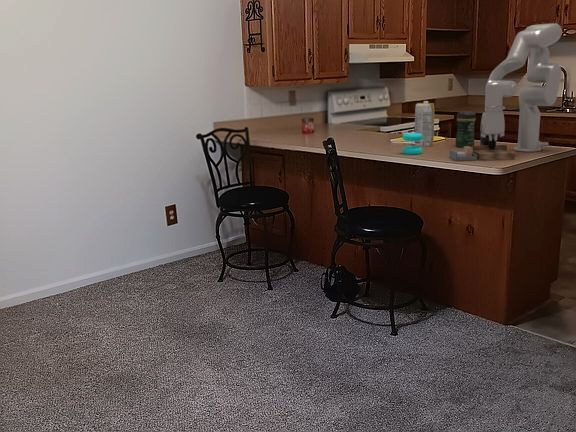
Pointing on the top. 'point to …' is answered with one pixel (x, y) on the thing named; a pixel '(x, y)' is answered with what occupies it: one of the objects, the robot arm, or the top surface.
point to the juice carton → (424, 123)
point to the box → (466, 158)
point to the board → (493, 153)
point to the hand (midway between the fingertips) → (491, 148)
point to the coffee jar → (465, 129)
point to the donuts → (412, 137)
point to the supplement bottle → (484, 141)
